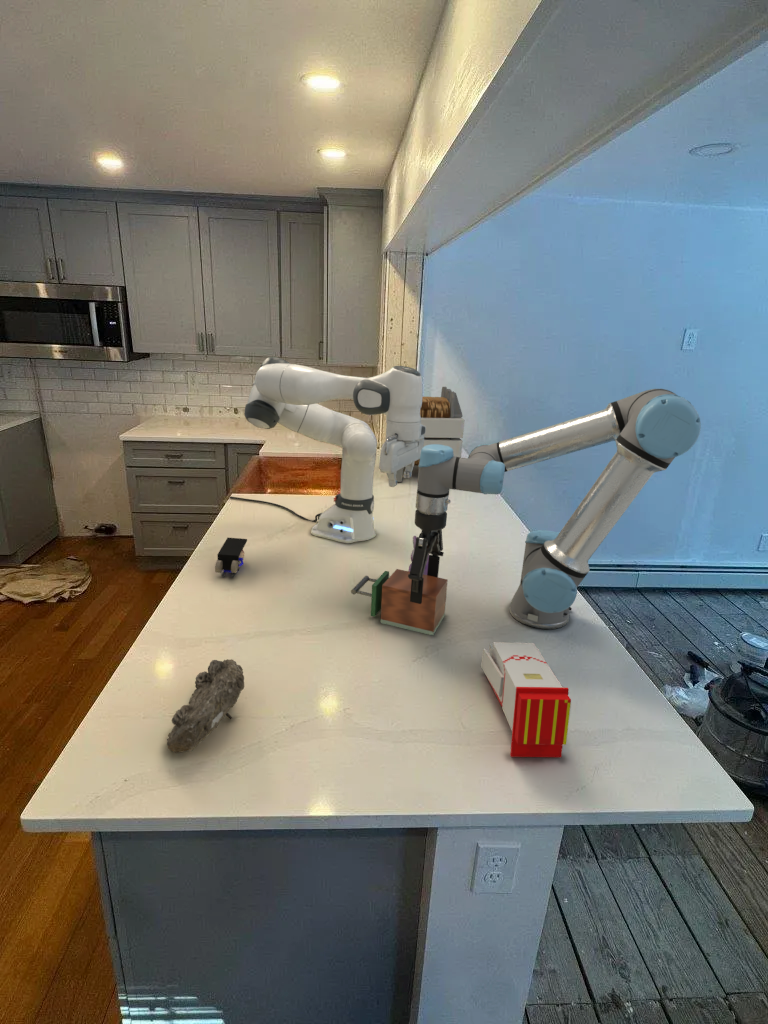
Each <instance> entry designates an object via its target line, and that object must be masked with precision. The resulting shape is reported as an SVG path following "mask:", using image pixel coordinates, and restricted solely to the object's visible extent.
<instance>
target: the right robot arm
mask: <svg viewBox="0 0 768 1024" xmlns="http://www.w3.org/2000/svg"><path fill="white" fill-rule="evenodd" d="M701 429H702V424H701V418H700V414H699V413H698V410H697V409H696V408H695V406H694V405H693V404H692V403H691V401H689V400H688V399H686V398H685V397H683V396H680V395H678V394H676V393H675V392H674V391H672V390H668V389H665V388H651V389H646V390H643V391H640V392H638V393H635V394H632V395H629V396H627V397H624V398H621V399H618V400H615V401H612V402H609V403H608V404H607V406H606V407H605V408H604V409H601V410H598V411H595V412H592V413H588V414H585V415H581V416H579V417H575V418H572V419H569V420H565V421H562V422H559V423H556V424H552V425H550V426H546V427H543V428H540V429H535V430H533V431H530V432H526V433H524V434H523V433H522V434H520V435H517V436H514V437H513V436H512V437H511V438H507V439H504V440H500V441H498V442H494V443H491V444H488V443H481V444H479V445H476V447H474V448H473V449H472V450H471V451H470V452H469V454H468V456H467V457H461V458H460V457H456V456H454V454H453V449H452V448H451V447H449V446H444V445H440V444H430V445H426V446H424V447H423V448H422V449H421V455H420V463H419V466H418V472H417V473H418V474H417V489H416V496H415V497H416V499H415V509H416V510H415V513H414V525H415V526H416V527H417V528H418V529H420V532H419V535H418V536H416V537H417V538H416V544H415V550H414V555H413V560H412V561H411V563H412V564H411V563H410V564H411V569H410V574H408V577H409V579H412V581H411V594H410V602H414V603H418V604H421V603H422V592H423V581H424V578H423V574H424V570H425V566H426V562H427V559H428V555H429V561H428V572H427V575H428V576H433V577H438V578H439V569H440V561H441V560H440V559H441V557H443V556H444V554H445V553H444V551H443V550H444V545H443V544H444V543H443V530H444V529H445V528H446V526H447V518H448V513H447V511H448V507H449V506H448V505H449V504H451V502H452V501H451V499H450V497H449V495H450V490H456V491H462V492H469V493H470V492H471V493H477V494H482V495H499V494H501V493H502V491H503V485H504V480H505V473H507V472H510V471H513V470H516V469H519V468H520V469H521V468H523V467H527V466H531V465H534V464H537V463H541V462H545V461H549V460H552V459H556V458H558V457H559V458H560V457H563V456H565V455H566V456H567V455H569V454H573V453H577V452H580V451H583V450H587V449H591V448H593V447H597V446H600V445H603V444H608V443H611V442H615V446H616V452H615V453H614V454H613V456H612V457H611V459H610V460H609V462H608V463H607V465H606V466H605V467H604V469H603V470H602V472H601V473H600V475H599V476H598V477H597V479H596V480H595V482H594V483H593V484H592V486H591V487H590V489H589V490H588V492H587V493H586V494H585V496H584V497H583V498H582V500H581V501H580V503H579V505H578V506H577V507H576V508H575V510H574V512H573V513H572V514H571V516H570V517H569V519H568V520H567V521H566V522H565V524H564V526H563V527H562V528H561V530H560V531H554V530H546V529H545V530H544V529H538V530H537V529H536V530H531V531H530V532H528V533H527V534H526V538H525V541H524V542H525V547H524V554H523V560H522V567H521V575H520V581H519V586H518V587H517V588H516V591H515V593H514V595H513V597H512V598H511V601H510V603H509V613H510V616H511V617H512V618H513V619H515V620H516V621H517V622H519V623H520V624H523V625H525V626H529V627H531V628H534V629H535V628H536V629H541V630H556V629H560V628H562V627H565V626H566V625H567V624H568V623H569V620H570V611H572V609H573V608H572V607H571V606H572V605H573V604H574V603H575V600H576V598H577V594H578V587H579V586H580V584H581V583H582V581H584V579H585V578H586V576H587V575H588V574H589V572H590V565H589V564H590V563H589V560H590V559H591V558H592V556H593V555H594V554H595V552H596V551H597V550H598V548H599V547H600V546H601V544H602V543H603V542H604V540H605V539H606V538H607V536H608V535H609V533H610V532H611V531H612V530H613V528H614V527H615V526H616V524H617V523H618V522H619V520H620V519H621V518H622V516H623V515H624V513H625V512H626V511H627V510H628V508H629V507H630V506H631V504H632V503H633V501H635V499H636V498H637V496H638V495H639V494H640V492H641V491H642V489H644V487H645V485H646V484H647V483H648V482H649V480H650V479H651V477H652V476H653V475H654V474H655V473H658V472H663V471H666V470H667V469H668V468H669V466H670V465H671V463H672V462H673V461H674V460H675V459H676V458H677V457H679V456H681V455H684V454H685V453H687V452H688V451H689V450H691V449H692V447H693V446H694V445H695V444H696V442H697V441H698V439H699V436H700V434H701Z"/></svg>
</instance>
